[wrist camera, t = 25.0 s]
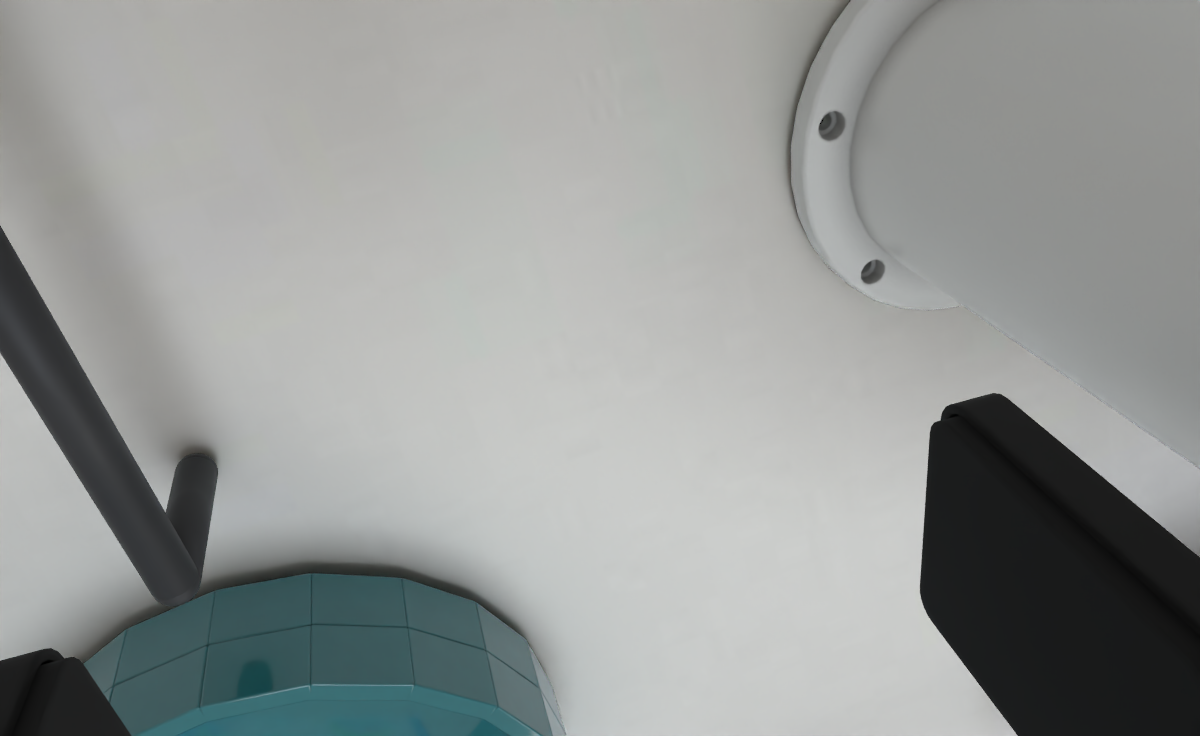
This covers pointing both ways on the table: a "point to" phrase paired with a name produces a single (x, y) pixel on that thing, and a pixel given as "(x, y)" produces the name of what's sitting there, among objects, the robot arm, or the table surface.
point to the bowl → (326, 664)
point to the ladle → (105, 446)
